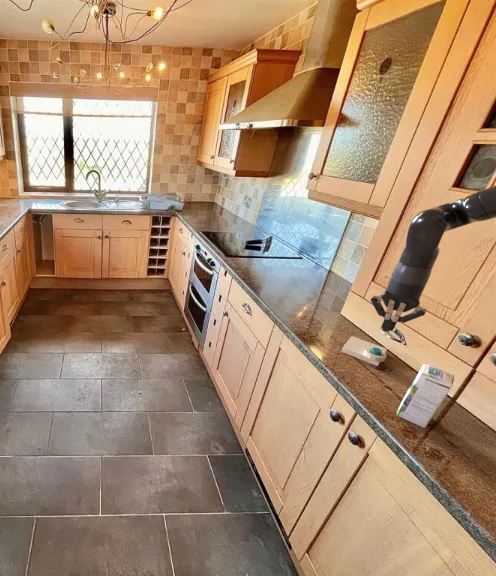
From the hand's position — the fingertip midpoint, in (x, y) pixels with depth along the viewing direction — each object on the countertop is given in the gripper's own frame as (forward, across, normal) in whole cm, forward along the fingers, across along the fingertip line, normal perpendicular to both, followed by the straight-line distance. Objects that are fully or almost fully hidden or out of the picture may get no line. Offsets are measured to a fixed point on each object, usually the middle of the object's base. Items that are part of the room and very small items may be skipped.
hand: (386, 329), depth 95 cm
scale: (+12, +3, -3) cm, 13 cm away
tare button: (+9, 0, 0) cm, 9 cm away
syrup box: (+13, -13, +19) cm, 26 cm away
